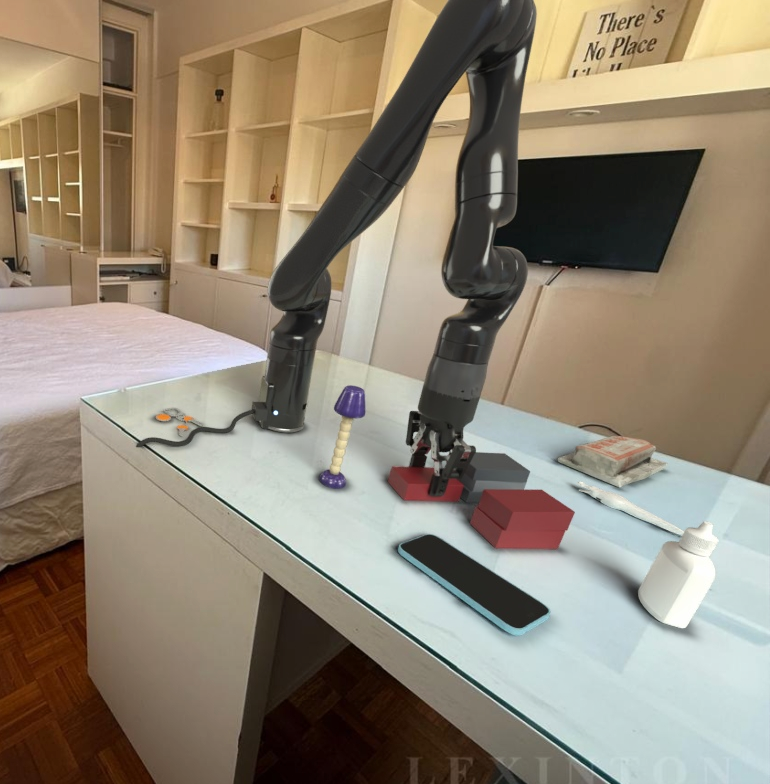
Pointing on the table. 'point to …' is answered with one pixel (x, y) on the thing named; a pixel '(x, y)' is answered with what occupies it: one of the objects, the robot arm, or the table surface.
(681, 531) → the white toothbrush
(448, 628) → the table surface
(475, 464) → the grey book pile
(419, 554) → the smartphone
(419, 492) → the burgundy paperback
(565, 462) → the packaged product
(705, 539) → the eye dropper bottle
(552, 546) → the burgundy book stack
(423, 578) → the table surface
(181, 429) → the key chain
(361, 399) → the toy lamp
